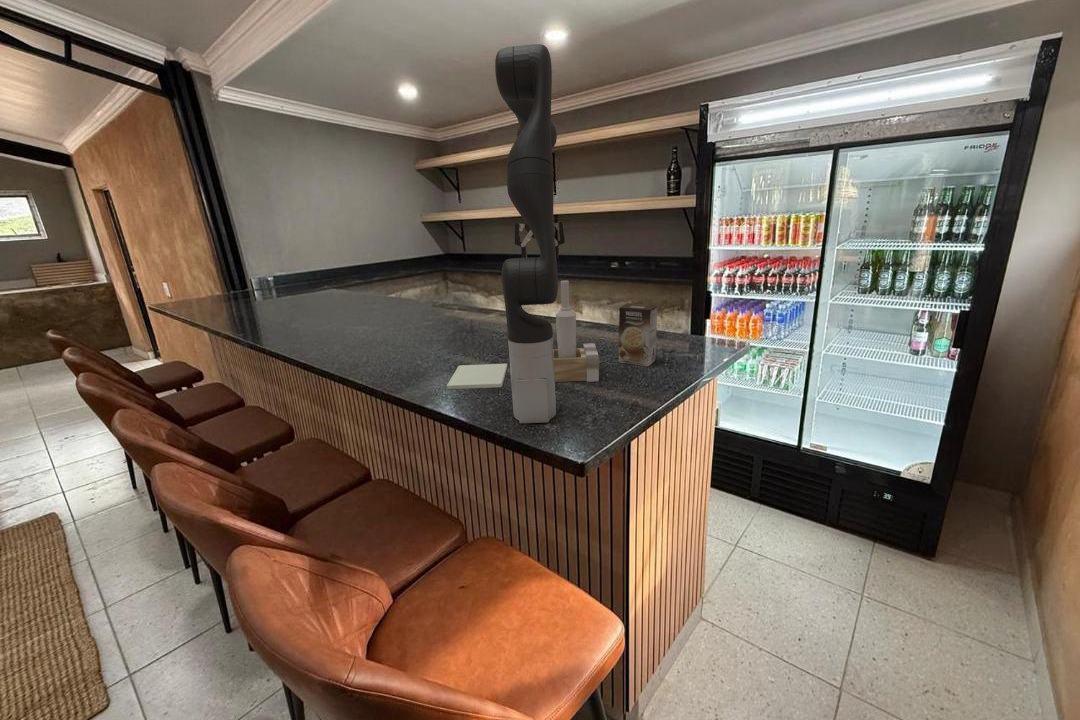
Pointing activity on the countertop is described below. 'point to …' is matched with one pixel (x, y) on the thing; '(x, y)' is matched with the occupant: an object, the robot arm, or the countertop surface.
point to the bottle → (566, 325)
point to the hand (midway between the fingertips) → (540, 260)
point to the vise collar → (578, 365)
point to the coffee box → (637, 334)
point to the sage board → (478, 376)
